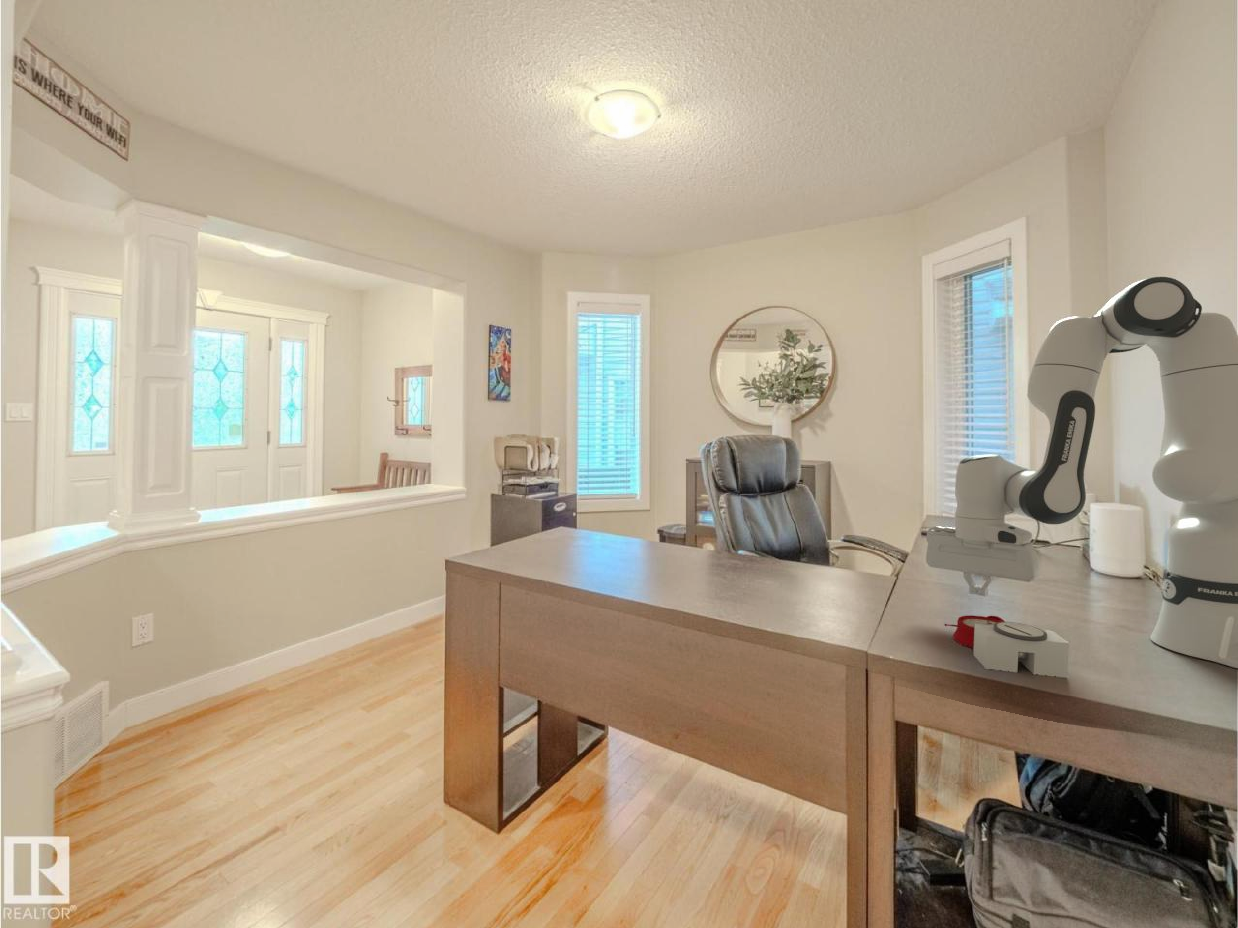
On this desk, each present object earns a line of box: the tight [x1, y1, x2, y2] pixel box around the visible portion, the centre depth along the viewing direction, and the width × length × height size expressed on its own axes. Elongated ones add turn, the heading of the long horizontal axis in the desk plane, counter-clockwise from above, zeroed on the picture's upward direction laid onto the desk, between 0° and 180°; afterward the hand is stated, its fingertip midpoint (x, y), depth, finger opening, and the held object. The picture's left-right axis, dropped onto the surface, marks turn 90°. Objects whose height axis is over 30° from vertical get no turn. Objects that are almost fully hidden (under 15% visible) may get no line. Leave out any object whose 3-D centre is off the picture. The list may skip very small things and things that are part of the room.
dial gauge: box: [972, 621, 1070, 679], centre depth 96 cm, size 12×8×7 cm, turn 74°
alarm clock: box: [944, 615, 1006, 649], centre depth 107 cm, size 10×6×15 cm
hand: (978, 594), depth 116 cm, fingers closed
